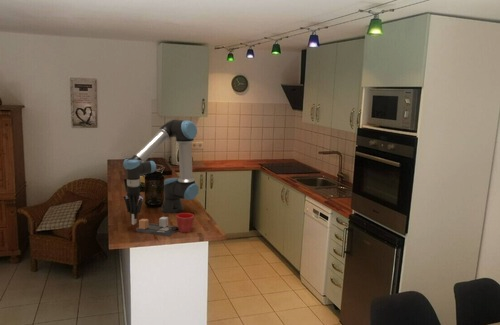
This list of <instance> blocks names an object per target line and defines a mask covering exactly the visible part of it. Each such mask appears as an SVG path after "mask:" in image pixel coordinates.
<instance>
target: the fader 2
mask: <svg viewBox="0 0 500 325" xmlns="http://www.w3.org/2000/svg"><path fill="white" fill-rule="evenodd" d="M158 223H159V226H160V227H166V226H169V216H162V217H160V218H158Z"/></svg>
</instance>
